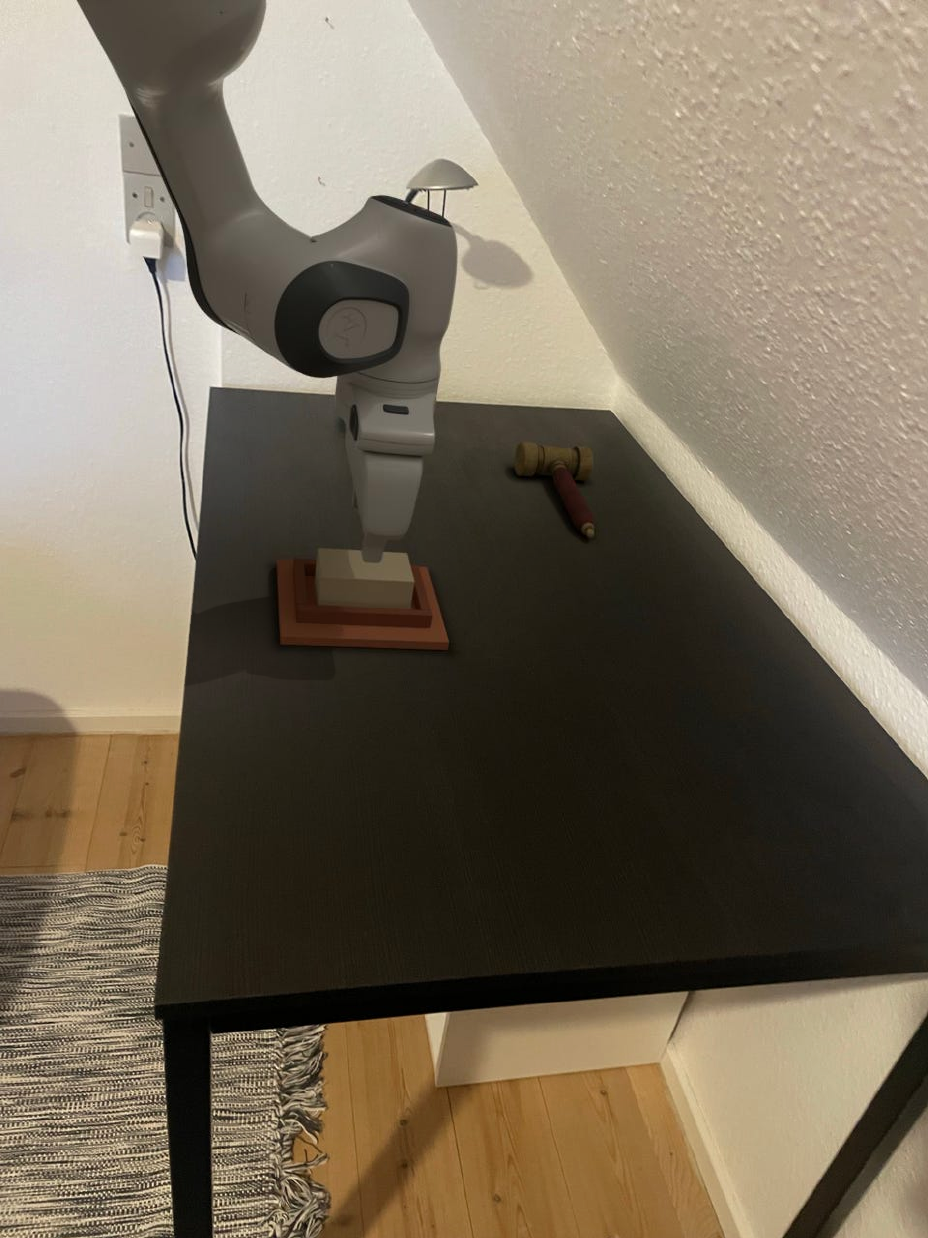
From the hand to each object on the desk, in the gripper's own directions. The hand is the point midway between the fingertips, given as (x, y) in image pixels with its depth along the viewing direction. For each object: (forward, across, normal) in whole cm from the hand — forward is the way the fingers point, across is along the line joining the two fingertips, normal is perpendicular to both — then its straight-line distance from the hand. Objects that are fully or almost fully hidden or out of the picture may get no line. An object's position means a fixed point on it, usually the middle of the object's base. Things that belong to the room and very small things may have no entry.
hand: (365, 533), depth 91 cm
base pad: (+8, 0, 0) cm, 8 cm away
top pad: (+7, 0, 0) cm, 7 cm away
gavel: (+8, -27, +30) cm, 42 cm away
